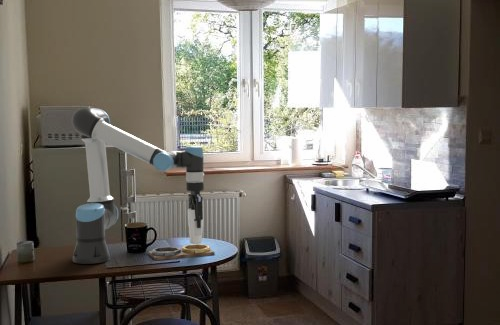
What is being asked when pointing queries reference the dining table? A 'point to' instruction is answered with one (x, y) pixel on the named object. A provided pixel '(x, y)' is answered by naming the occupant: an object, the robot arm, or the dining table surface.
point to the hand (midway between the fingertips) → (195, 233)
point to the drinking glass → (193, 228)
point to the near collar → (174, 250)
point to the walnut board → (181, 254)
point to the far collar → (188, 249)
